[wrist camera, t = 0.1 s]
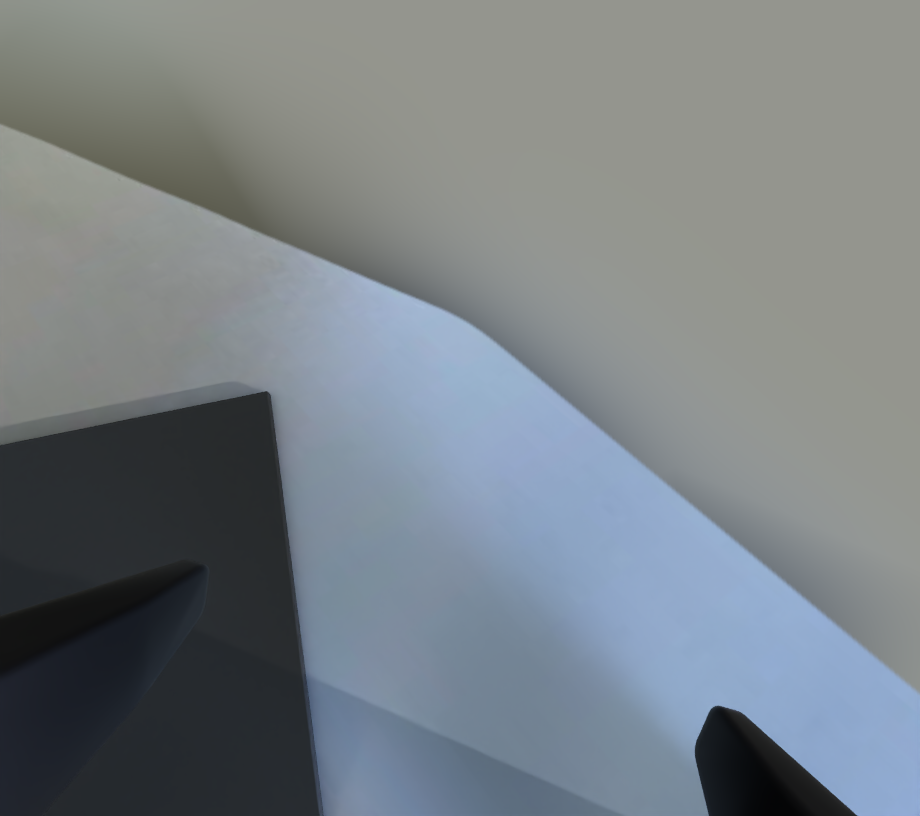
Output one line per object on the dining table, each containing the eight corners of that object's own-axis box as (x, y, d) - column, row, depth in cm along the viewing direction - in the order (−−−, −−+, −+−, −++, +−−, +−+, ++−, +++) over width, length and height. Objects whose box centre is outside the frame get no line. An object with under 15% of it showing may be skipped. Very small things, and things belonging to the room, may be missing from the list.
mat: (326, 837, 19) (323, 844, 18) (-220, 1024, 16) (-239, 1037, 15) (270, 394, 25) (267, 390, 24) (-127, 475, 22) (-139, 472, 22)
